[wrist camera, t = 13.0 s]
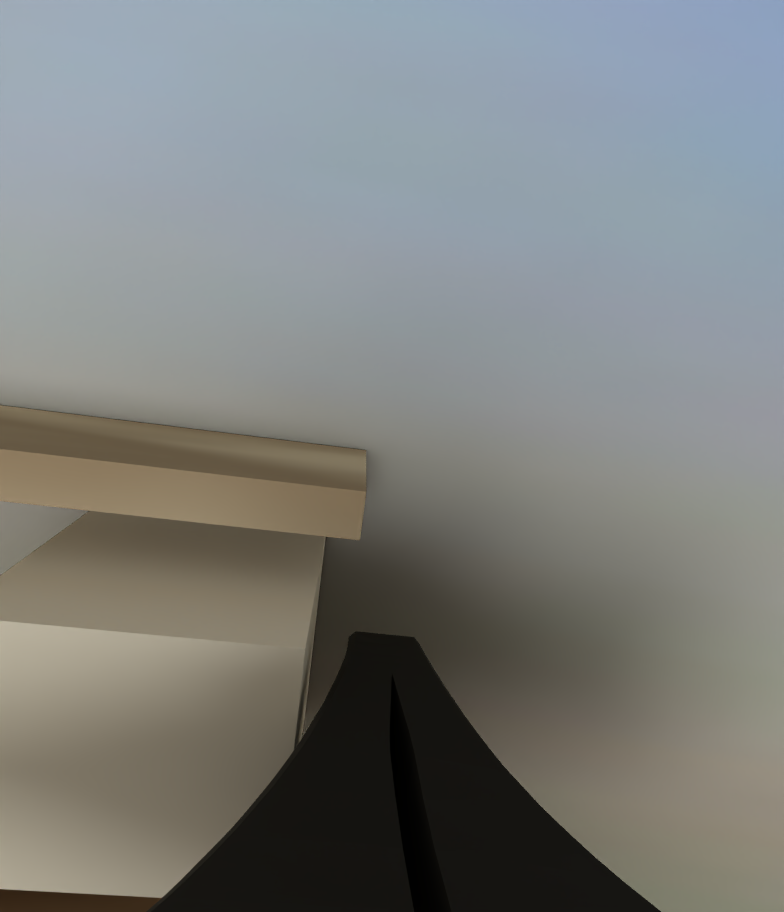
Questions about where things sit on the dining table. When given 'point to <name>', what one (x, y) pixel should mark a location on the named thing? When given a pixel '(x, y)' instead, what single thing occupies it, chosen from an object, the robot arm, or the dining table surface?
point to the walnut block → (71, 902)
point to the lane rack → (180, 473)
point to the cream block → (146, 695)
